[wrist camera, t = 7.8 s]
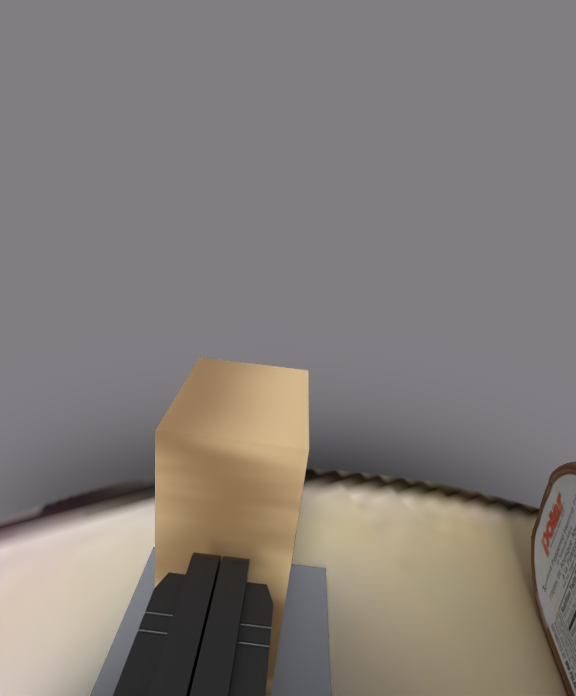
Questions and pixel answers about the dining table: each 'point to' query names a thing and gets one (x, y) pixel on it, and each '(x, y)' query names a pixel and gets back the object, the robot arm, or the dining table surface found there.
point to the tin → (557, 569)
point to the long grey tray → (294, 643)
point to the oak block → (233, 474)
